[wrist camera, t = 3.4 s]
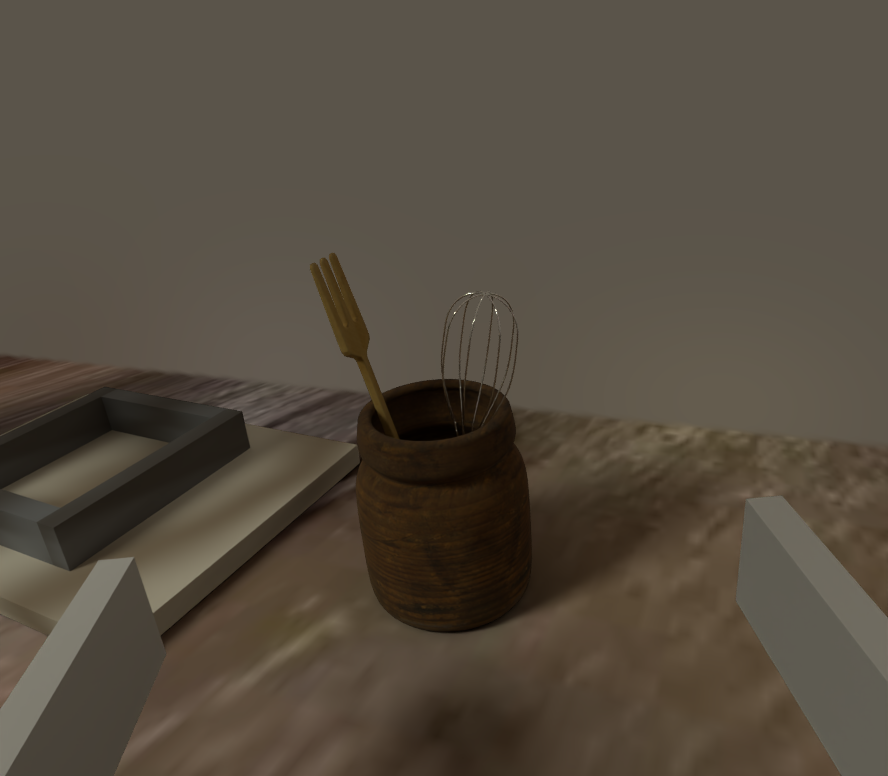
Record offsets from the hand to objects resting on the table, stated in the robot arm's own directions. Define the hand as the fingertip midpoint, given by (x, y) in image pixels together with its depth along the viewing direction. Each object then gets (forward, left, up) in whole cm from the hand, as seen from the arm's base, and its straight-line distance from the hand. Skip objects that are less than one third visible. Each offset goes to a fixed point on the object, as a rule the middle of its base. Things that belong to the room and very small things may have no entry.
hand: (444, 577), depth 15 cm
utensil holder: (-4, +7, -7) cm, 11 cm away
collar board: (-22, +6, -7) cm, 24 cm away
